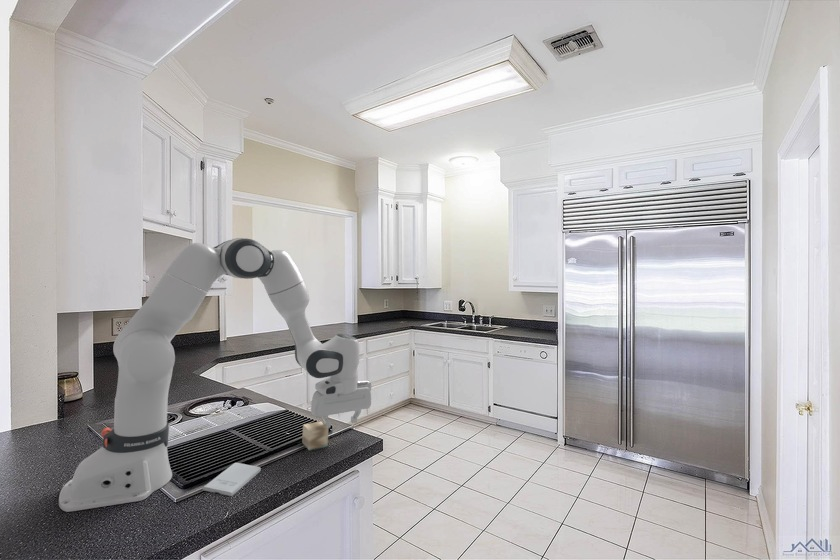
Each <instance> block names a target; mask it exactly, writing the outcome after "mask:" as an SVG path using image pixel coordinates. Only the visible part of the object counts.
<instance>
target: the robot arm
mask: <svg viewBox="0 0 840 560" xmlns="http://www.w3.org/2000/svg"><path fill="white" fill-rule="evenodd" d="M224 275H226V276H229V277H232V278H234V279H235V278H236V279H247V280H248V279H256V278H258V279H259V280H260V282H261V283H262V285H264V289H265V292H266V293H267V297H268V298H269V300H270V302H271V303H272V305H273V307H274V308H275V310H276V311H277V312H278V313H279V315H280V316H281V317H282V318H283V319H284V321H285V323H286V325H287V327H288V330H289V332H290V335H291V336H292V339H293V342H294V358H295V361H296V364H298V365H299V366H300V367H301V368H303V369H304V371H305V372H307V374H308V375H309V376H311V377H312V378H315V379H323V380H320V381H318V382H316V383H315V384H314V388H315V392H314V393H313V395H312V397H311V398H312V399H311V404H310V405H311V406H310V413H311V414H312V416H314V417H315V418H320V417H321V419H322V420H323V424H324V425H325V426H326V427H328V428H329V429H330V428H332V427H331V424H332V423H331V421H330V420H328V419H329V416H331V415H332V416H333V415H337V414H338V415H339V414H342V413H343V414H344V413H349V412H354V413H353V416H351V417H350V423H351V424H356V423H357V422H358V418H359V416H360V414H361V413H362V410H366V409H370V407H371V405H372V393H371V391H372V384H371V382H370V381H368V380H363V381H359V372H358V366H359V363H360V343H359V340H358V339H357V338H356V337H355V336H352V335H349V334H345V333H337V334H335V335H334V337H332V338H331V339H329V340H327V341H325V342H324V343H322V342H321V341H320V340H319V339H318V338H317V337H316V336H315V335H314V333H313V331H312V328H311V326H310V323H309V322H308V319H307V315H306V308H307V307H308V305H309V302H310V296H309V291H308V288H307V285H306V282H305V280H304V277H303V275H302V274H301V271H300V269H299V267H298V266H297V264H296V263H295V260H294V259H293V257H292V256H291V255H290V253H288V252H287V251H285V250H281V249H275V250H269V249H268V248H266V247H265V246H264V245H263V244H261V243H260V242H258V240H257V241H256V240H255V239H251V238H243V237H237V238H232V239H229V240H226V241H223V242H222V243H220V244H218V245H216V246H214V247H212V246H211V245H208V244H205V243H200V242H193V243H190V244H188V245H187V246H186V247H184V248H183V249H182V251H180V253H179V254H178V255H176V257H175V258H174V260H173V261H172V262H171V263H170V265H169V266H168V267H167V269H166V270H165V272H164V274H162V277H160V279H159V281H158V283H157V284H156V285H155V287H154V288H153V290H152V291H151V293H150V295H148V298H147V299H146V301H145V302H144V303H143V304H142V305H141V307H140V308H139V309H138V310H137V311H136V312H135V314H134V315H133V316H132V317H130V319H129V321H128V322H127V323H126V324H125V326H124V327H123V328H122V330H121V331H120V332H119V333H118V335H117V336H116V338H115V339H114V341H113V342H114V343H113V344H112V345H113V347H112V348H113V349H112V350H113V355H114V357H115V359H116V360H117V365H118V377H117V385H116V393H115V398H114V411H113V412H114V417H113V419H114V421H113V429H112V428H110V427H105V428H103V429H102V430H101V433H100V434H101V437H102V447H99V449H97V450H96V451H94V452H93V453H91V454H90V455H89V456H87V457H86V458H85V459H83V460H82V461H81V462H80V463H79V464H78V466H77V467H76V469H75V471H74V474H73V476H72V479H70V480H69V481H67V482H66V483H65V484H64V485H63V486H62V488H61V490H60V492H59V495H58V506H59V508H60V509H61V511H64V512H67V513H68V512H70V513H71V512H77V511H83V510H89V509H96V508H101V507H107V506H114V505H122V504H126V503H127V504H129V503H134V502H140V501H143V500H145V499H147V498H148V497H149V496H150V495H151V494H152V493H154V492H156V491H157V490H159V489H160V488H162V487H164V486H165V485H166V484H168V483H169V482H170V480H172V478H173V472H172V469H171V465H170V461H169V454H168V453H169V451H168V445H169V439H170V426H169V423H168V403H169V402H168V401H169V399H168V398H169V392H170V387H171V386H170V385H171V383H172V382H171V380H172V376H173V370H174V366H175V361H176V354H175V349H174V346H173V345H172V343H171V341H172V340H173V339H174V338H175V336H177V334H178V333H179V332H180V331H181V329H182V328H183V327H184V326H185V325H186V324H188V323H189V322H190V321H192V319H193V318H194V316H195V314H196V312H197V311H198V309H199V308H200V306H201V304H202V303H203V302H204V300H205V298H206V296H207V295H208V293H209V292H210V289H211V288H212V286H213V284H214V283H215V282H216V280H217V279H219V278H220V277H221V276H224Z"/></svg>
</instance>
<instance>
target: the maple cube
mask: <svg viewBox="0 0 840 560" xmlns="http://www.w3.org/2000/svg"><path fill="white" fill-rule="evenodd" d="M329 429H330V428H328V427H326V426H325V425H324V422H322V421H316V422H315V421H314V422H311V423H304V424H302V438H301V439H302V440H301V443H302V445H303V446H304V445H305V446H304V447H305V448H306V449H307V450H308V451H314V450H319V449H324V448H327V447H328V443H329Z"/></svg>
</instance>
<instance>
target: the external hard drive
mask: <svg viewBox="0 0 840 560" xmlns="http://www.w3.org/2000/svg"><path fill="white" fill-rule="evenodd" d="M261 469H262V468H261V467H260V466H256V465H251V464H250V465H249V464H245V463H241V462H234V463H232V464H231V465H230V466H229V467H227V468H225V470H223V471H222V472H221V473H220V474H218V475H217V476H216V477H214V478H213V479H212V480H210V481H209V482H208V483H207V484H205V485H204V486H203V487H202V491H205V492H206V491H207V492H211V493H217V494H219V495H225V496H229V497H233V496H234V495H235V494H236V493H237V492H238V491H239V490H241V489H242V488H243V487H245V485H246V484H248V483H249V482H250V481H251V480H252V479H254V477H256V476H257V475H258V474H259V473H260V472H261Z"/></svg>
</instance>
